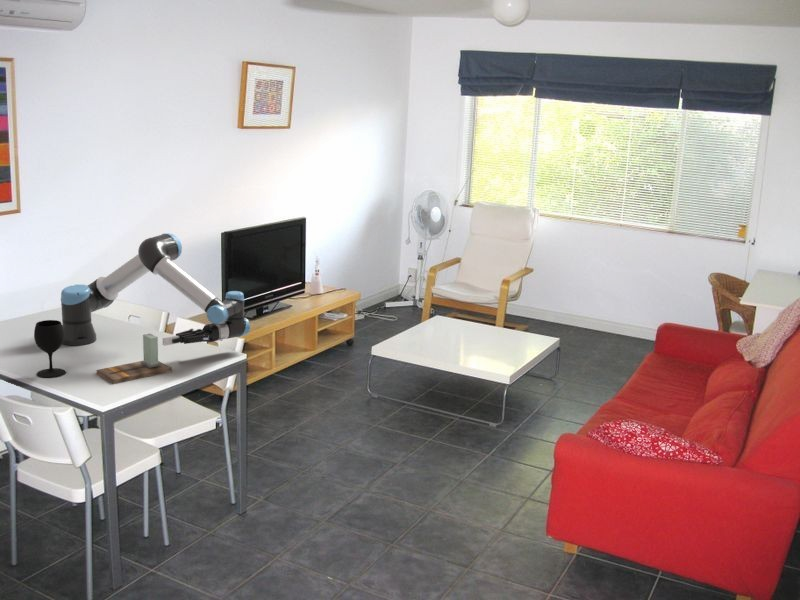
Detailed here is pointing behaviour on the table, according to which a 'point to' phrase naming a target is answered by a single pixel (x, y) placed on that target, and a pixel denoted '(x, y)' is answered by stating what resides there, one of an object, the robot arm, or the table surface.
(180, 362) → the table surface
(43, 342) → the wine glass
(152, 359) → the block
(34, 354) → the table surface
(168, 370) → the brown wooden board
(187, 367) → the table surface
